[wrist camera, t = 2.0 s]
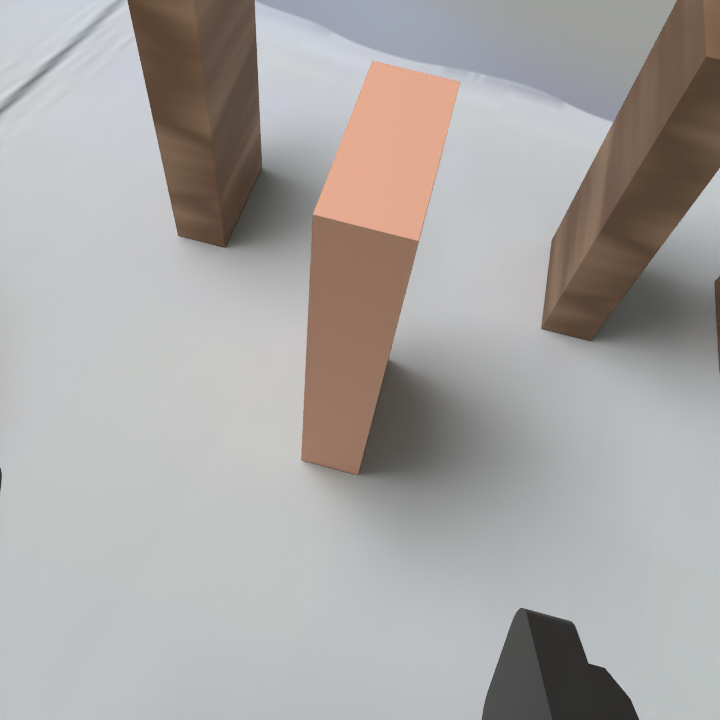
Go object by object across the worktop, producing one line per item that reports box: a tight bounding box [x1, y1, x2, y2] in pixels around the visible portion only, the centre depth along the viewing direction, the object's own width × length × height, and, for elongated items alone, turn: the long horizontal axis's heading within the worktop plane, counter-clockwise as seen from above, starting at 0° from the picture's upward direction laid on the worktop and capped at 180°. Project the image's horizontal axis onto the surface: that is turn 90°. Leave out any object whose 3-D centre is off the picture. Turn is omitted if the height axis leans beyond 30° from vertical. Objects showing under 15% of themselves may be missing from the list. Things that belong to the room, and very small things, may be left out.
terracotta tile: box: [301, 61, 460, 475], centre depth 23 cm, size 2×6×15 cm, turn 166°
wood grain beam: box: [128, 0, 262, 247], centre depth 28 cm, size 2×6×15 cm, turn 166°
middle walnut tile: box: [541, 0, 720, 341], centre depth 28 cm, size 2×6×15 cm, turn 166°
